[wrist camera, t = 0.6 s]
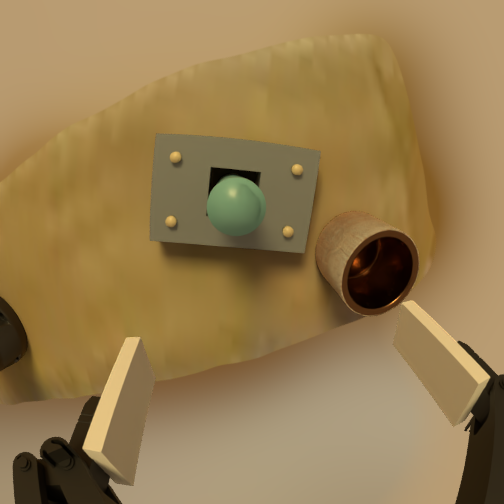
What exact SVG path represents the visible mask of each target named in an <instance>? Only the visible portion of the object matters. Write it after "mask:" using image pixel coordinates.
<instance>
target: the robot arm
mask: <svg viewBox="0 0 504 504" xmlns="http://www.w3.org/2000/svg"><path fill="white" fill-rule="evenodd" d="M393 345H394V347H395V348H396V349H397V350H398V352H399V353H400V354H401V355H402V357H403V358H404V360H405V361H406V362H407V363H408V365H409V366H410V367H411V369H412V370H413V371H414V373H415V374H416V375H417V377H418V378H419V379H420V381H421V382H422V383H423V385H424V386H425V388H426V389H427V390H428V392H429V393H430V395H431V396H432V397H433V399H434V400H435V401H436V403H437V404H438V406H439V407H440V409H441V410H442V411H443V413H444V414H445V415H446V417H447V418H448V420H449V421H450V423H451V424H452V426H453V427H454V426H456V425H458V424H459V423H461V422H463V421H464V420H465V419H466V418H467V417H468V415H469V413H470V412H471V413H472V414H473V415H474V416H473V417H472V419H471V420H470V422H469V423H468V425H467V426H466V427H465V430H464V431H467V429H468V428H469V427H470V430H469V432H470V435H469V443H468V449H467V456H466V461H465V466H464V471H463V476H462V480H461V484H460V488H459V492H458V496H457V500H456V503H455V504H504V375H499V376H498V375H497V374H496V373H495V372H494V371H493V370H492V369H491V368H490V367H489V366H488V365H487V364H486V363H485V362H484V361H483V360H482V359H481V358H479V356H478V355H477V354H476V353H474V351H473V350H472V349H471V348H470V347H469V346H468V345H467V344H465V343H463V342H461V341H458V342H456V341H455V340H454V339H453V338H452V337H451V336H450V335H449V334H448V333H447V332H446V331H445V330H444V329H443V328H442V327H440V326H439V324H438V323H437V322H435V321H434V320H433V319H432V318H431V317H430V316H429V315H428V314H427V313H426V312H425V311H424V310H423V309H422V308H420V307H419V306H418V305H417V304H416V303H415V302H414V301H408V302H403V303H401V308H400V313H399V318H398V323H397V328H396V333H395V337H394V341H393ZM26 350H27V338H26V334H25V331H24V328H23V326H22V324H21V322H20V320H19V318H18V317H17V315H16V314H15V312H14V311H13V309H12V308H11V307H10V306H9V305H8V303H7V302H6V301H5V300H4V299H2V298H1V297H0V371H1V370H3V369H5V368H7V367H8V366H10V365H12V364H14V363H16V362H17V361H19V360H20V359H21V358H22V357H23V355H24V354H25V352H26ZM154 383H155V375H154V373H153V370H152V367H151V365H150V362H149V359H148V357H147V354H146V351H145V348H144V346H143V343H142V340H141V337H128V338H126V340H125V342H124V344H123V346H122V348H121V351H120V353H119V355H118V358H117V360H116V362H115V364H114V367H113V369H112V371H111V374H110V376H109V379H108V381H107V383H106V386H105V388H104V391H103V393H102V396H101V397H96V396H92V397H91V398H90V399H89V400H88V401H87V402H86V403H85V405H84V407H83V410H82V412H81V415H80V417H79V419H78V423H77V424H76V427H75V430H74V432H73V435H72V437H71V440H70V442H69V444H68V443H67V441H66V440H64V439H63V438H61V437H52V438H49V439H48V440H46V441H45V442H44V443H43V445H42V446H41V449H40V457H41V458H42V459H37V458H36V457H35V456H33V454H31V453H29V452H23V453H20V454H18V455H17V456H16V457H15V459H14V461H13V484H14V497H15V504H122V503H121V501H120V500H119V499H118V497H117V496H116V494H115V492H114V491H113V489H112V488H111V487H110V485H109V484H108V483H109V479H110V478H111V479H112V480H113V481H114V482H115V483H117V484H124V485H130V486H133V484H134V478H135V473H136V467H137V462H138V456H139V450H140V446H141V441H142V436H143V431H144V426H145V422H146V417H147V413H148V408H149V404H150V399H151V395H152V391H153V387H154ZM470 425H471V426H470Z"/></svg>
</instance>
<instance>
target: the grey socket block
mask: <svg viewBox="0 0 504 504" xmlns="http://www.w3.org/2000/svg"><path fill="white" fill-rule="evenodd" d="M320 153H321V151H317V150H311V149H306V148H300V147H294V146H288V145H281V144H274V143H267V142H260V141H252V140H243V139H234V138H223V137H212V136H198V135H181V134H156V139H155V149H154V160H153V173H152V188H151V208H150V241H162V242H174V243H187V244H199V245H211V246H223V247H235V248H247V249H259V250H271V251H283V252H295V253H305V247H306V242H307V236H308V230H309V225H310V219H311V213H312V207H313V201H314V194H315V188H316V181H317V174H318V168H319V160H320ZM212 167H217V168H227V169H238V170H247V171H256V172H257V173H256V181H255V184H256V185H257V186H258V187H259V188H260V190H261V191H262V193H263V195H264V197H265V201H266V213H265V216H264V219H263V221H262V222H261V224H260V225H259V226H258V227H257V228H256V229H255V230H254V231H252V232H250V233H248V234H246V235H242V236H230V235H226V234H224V233H222V232H220V231H219V230H217V229H216V228H215V227H214V226H213V225H212V223H211V221H210V220H209V217H208V214H207V201H208V197H209V193H210V182H211V172H212Z"/></svg>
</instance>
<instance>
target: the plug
mask: <svg viewBox="0 0 504 504" xmlns="http://www.w3.org/2000/svg"><path fill="white" fill-rule="evenodd" d="M265 213H266V201H265V197H264V195H263V193H262V191H261V190H260V188H259V187H258V186H257V185H256V184H254V183H253V182H252V181H250V180H248V179H246V178H243V177H242V176H241V175H239V174H235V173H230V174H226V175H224V176H222V177H221V178H220V179H219V181H218V182H217V185H215V187H214V188H213V189H212V191H211V192H210V195H209V197H208V201H207V214H208V217H209V220H210V221H211V223H212V225H213V226H214V227H215V228H216V229H217V230H219V231H220V232H222V233H224V234H226V235H230V236H242V235H246V234H248V233H250V232H252V231H254V230H255V229H256V228H257V227H258V226H259V225H260V224H261V222H262V221H263V219H264V216H265Z"/></svg>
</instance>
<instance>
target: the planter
mask: <svg viewBox="0 0 504 504" xmlns="http://www.w3.org/2000/svg"><path fill="white" fill-rule="evenodd" d="M315 254H316V262H317V265H318V268H319V270H320V272H321V274H322V275H323V276H324V278H325V279H326V280H327V281H328V283H329V284H330V285H331V286H332V287H333V289H334V290H335V291H336V292H337V294H338V295H339V296H340V297H341V299H342V300H343V301H344V303H345V304H346V305H347V306H348V307H349V308H350V309H351V310H352V311H353V312H355V313H357V314H359V315H363V316H377V315H381V314H384V313H386V312H388V311H390V310H392V309H393V308H395V307H396V306H398V305H399V304H400V303H401V302H402V301H403V300H404V299H405V297H406V296H407V295H408V294H409V292H410V291H411V289H412V287H413V285H414V283H415V281H416V278H417V275H418V270H419V254H418V250H417V247H416V245H415V243H414V241H413V240H412V239H411V238H410V237H409V236H408V235H407V234H406V233H404V232H402V231H400V230H398V229H397V228H395V227H393V226H391V225H389V224H387V223H385V222H383V221H381V220H380V219H378V218H376V217H374V216H372V215H370V214H368V213H365V212H360V211H350V212H346V213H343V214H340V215H338V216H337V217H335V218H334V219H332V220H331V221H330V222H329V223H328V224H327V225H326V226H325V227H324V229H323V230H322V232H321V234H320V236H319V238H318V241H317V245H316V253H315Z"/></svg>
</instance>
